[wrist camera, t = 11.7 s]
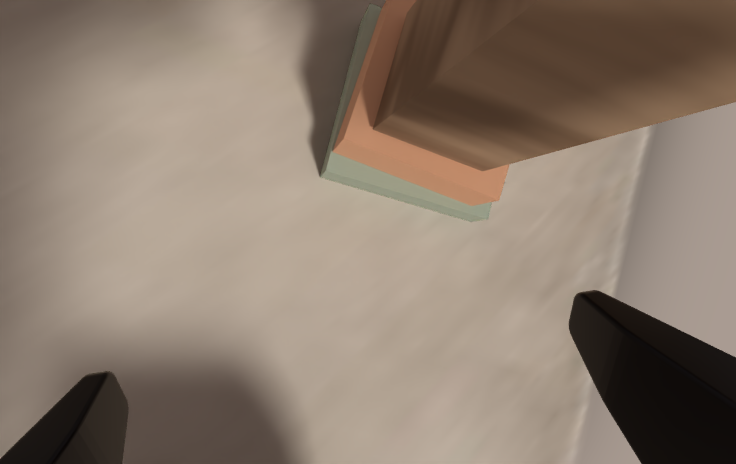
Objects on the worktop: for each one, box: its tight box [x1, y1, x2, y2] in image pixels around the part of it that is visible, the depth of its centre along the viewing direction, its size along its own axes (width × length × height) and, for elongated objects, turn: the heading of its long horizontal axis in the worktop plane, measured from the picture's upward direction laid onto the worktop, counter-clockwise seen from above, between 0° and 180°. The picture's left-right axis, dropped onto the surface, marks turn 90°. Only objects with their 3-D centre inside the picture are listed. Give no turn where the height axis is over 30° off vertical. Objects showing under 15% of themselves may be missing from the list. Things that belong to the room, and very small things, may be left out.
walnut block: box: [373, 0, 736, 171], centre depth 13 cm, size 5×5×13 cm
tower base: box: [320, 3, 492, 222], centre depth 23 cm, size 8×8×2 cm
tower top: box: [333, 0, 509, 206], centre depth 21 cm, size 7×7×2 cm
